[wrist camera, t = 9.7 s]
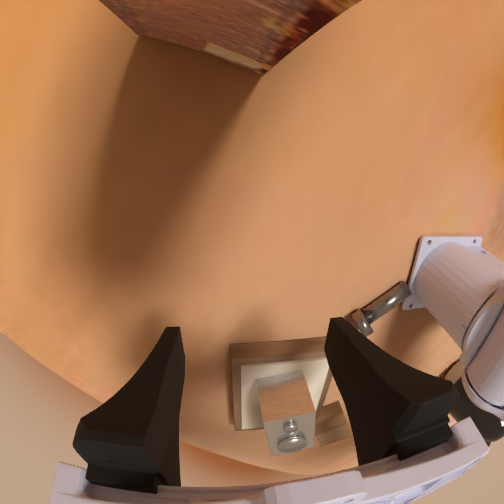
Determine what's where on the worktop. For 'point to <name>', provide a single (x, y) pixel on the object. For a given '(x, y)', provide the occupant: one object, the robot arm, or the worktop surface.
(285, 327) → the worktop surface
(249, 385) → the stand
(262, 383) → the housing
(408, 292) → the loose bolt
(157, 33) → the book
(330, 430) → the walnut block
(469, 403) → the pump dispenser
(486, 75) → the worktop surface
